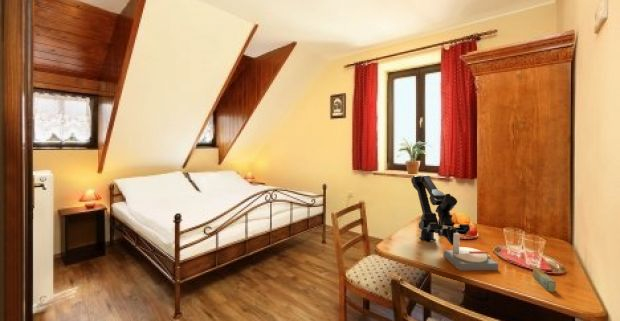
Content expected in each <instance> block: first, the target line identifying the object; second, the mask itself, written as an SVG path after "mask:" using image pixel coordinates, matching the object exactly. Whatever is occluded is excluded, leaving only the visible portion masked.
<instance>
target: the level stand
mask: <svg viewBox="0 0 620 321" xmlns="http://www.w3.org/2000/svg"><path fill="white" fill-rule="evenodd" d="M443 257H444V258H445V259H446V260H447V261H448V262H449V263H450V264H452V265H453V266H454V267H455V268H456V269H457V270H459V271H498V270H499V263H498V262H497V261H495V260H493V259H492V258H491V255H490V254H487V261H485V262H482V263H474V262H468V261H464V260H461V259H458V258H456V257H455V256H454V255H453V249H444V250H443Z"/></svg>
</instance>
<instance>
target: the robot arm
mask: <svg viewBox="0 0 620 321" xmlns="http://www.w3.org/2000/svg"><path fill="white" fill-rule="evenodd" d="M410 181H411V184H412V187H413V188H414V189H415V190H416V191H417V196H418V200H419V204H420V209H421V212H422V214H421V217H420V221H419V223H418V228H419V229H420V230H421V231H420V237H419V239H420V240H423V241H425V242H428V243H429V242H433V241H436V240H437V239H436V238H434V237H435V236H434V235H435V234H438V236H440V237H442V236H443V237H445V238H446V240H447V241H448V242H449V243H450V245H451V246H453V233H459V234H460V236H461V235H464V236H465V235H467V234H468V233H469V232H470V231H471V227H470V225H469V224H467V223H466V224H464V223H459V225H458V226H454V225H455V222H454V221H453V219H452V218H453V215H452V214H451V211H453V209H454V208H455V206H456V205H457V204H458V200H457V198H456V197H454V196H453V195H451V193H443V192H442V191H440V190H439V189H438V188H437V186H436V184H435V183H434V182H433V180H432V178H431V176H430V175H429V174H425V175H424V174H422V175H414V176H413V177H411V180H410ZM428 194H429V197H428ZM430 203H431V205H432V206H437V207H436V208H435V212H433V211H432V208H431V205H430ZM436 213H437V214H436ZM437 216H438V217H437Z"/></svg>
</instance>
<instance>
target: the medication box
mask: <svg viewBox="0 0 620 321" xmlns="http://www.w3.org/2000/svg"><path fill="white" fill-rule="evenodd" d="M532 269H533V270H532V277H533V279H534V280H535V281H536V282H537V283H539V285H540V286H541V287H543V289H545V291H547V292H552V293H555V292H556V285H557V283H556V281H555V280H554V279H552V277H550V276H549V275H548V274H547V273H546V272H545V271H543V270H542V269H541V268H532Z"/></svg>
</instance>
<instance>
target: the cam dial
mask: <svg viewBox="0 0 620 321" xmlns="http://www.w3.org/2000/svg"><path fill="white" fill-rule="evenodd" d="M460 236H461V234H459V233H457V232H456V233H453V245H452V250H453V255H454V256H455V257H456V258H458V259H461V260H464V261H468V262H474V263H482V262H485V261H487V255H488V253H489V252H488V250H479V249H478V248H477V249H476V248H472V247H469V246H468V247H465V246H460V240H461V238H460Z"/></svg>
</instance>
